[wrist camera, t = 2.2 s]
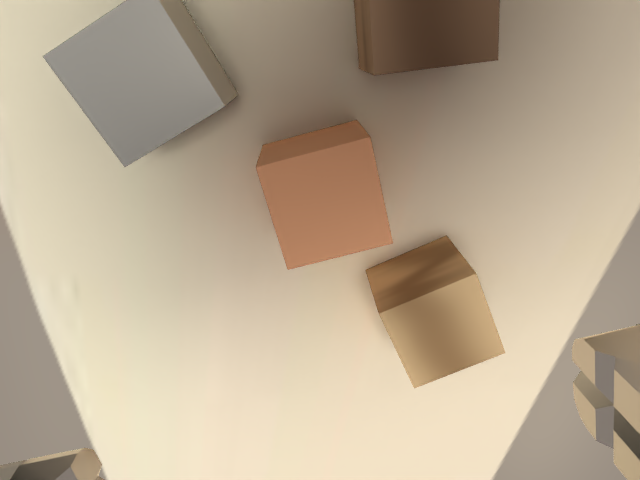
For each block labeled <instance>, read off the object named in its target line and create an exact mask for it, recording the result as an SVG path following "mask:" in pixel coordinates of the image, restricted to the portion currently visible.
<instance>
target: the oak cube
mask: <svg viewBox="0 0 640 480" xmlns="http://www.w3.org/2000/svg"><path fill="white" fill-rule="evenodd" d="M366 273H367V277H368V280H369V283H370V286H371V290H372V293H373V296H374V299H375V303H376V306H377V309H378V312H379V315H380V317H381V319H382V321H383V323H384V325H385V328H386V330H387V332H388V334H389V336H390V338H391V340H392V342H393V345H394V347H395V349H396V351H397V353H398V355H399V357H400V359H401V361H402V364H403V366H404V368H405V370H406V372H407V374H408V376H409V378H410V380H411V383H412V385H413V387H414V388H417V387H419V386H422V385H424V384H427V383H429V382H432V381H434V380H437V379H440V378H442V377H445V376H447V375H450V374H452V373H455V372H458V371H460V370H463V369H465V368H468V367H470V366H473V365H475V364H478V363H481V362H483V361H486V360H488V359H491V358H493V357H496V356H498V355H501V354H504V353H505V351H504V348H503V345H502V342H501V340H500V337H499V334H498V331H497V329H496V326H495V323H494V321H493V318H492V315H491V312H490V310H489V307H488V304H487V302H486V299H485V296H484V293H483V291H482V288H481V285H480V282H479V280H478V277H477V274H476V273H475V271H474V270H473V269H472V267H471V266H470V265H469V264H468V262H467V261H466V260H465V259H464V257H463V256H462V255H461V253H460V252H459V251H458V250H457V248H456V247H455V246H454V244H453V243H452V242H451V241H450V239H449V238H448V237H447V236H444V237H442V238H439V239H437V240H435V241H432V242H430V243H428V244H425V245H423V246H421V247H418V248H416V249H414V250H411V251H409V252H407V253H404V254H402V255H400V256H397V257H395V258H393V259H390V260H388V261H386V262H383V263H381V264H378V265H376V266H374V267H371V268H369V269H367V270H366Z"/></svg>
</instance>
